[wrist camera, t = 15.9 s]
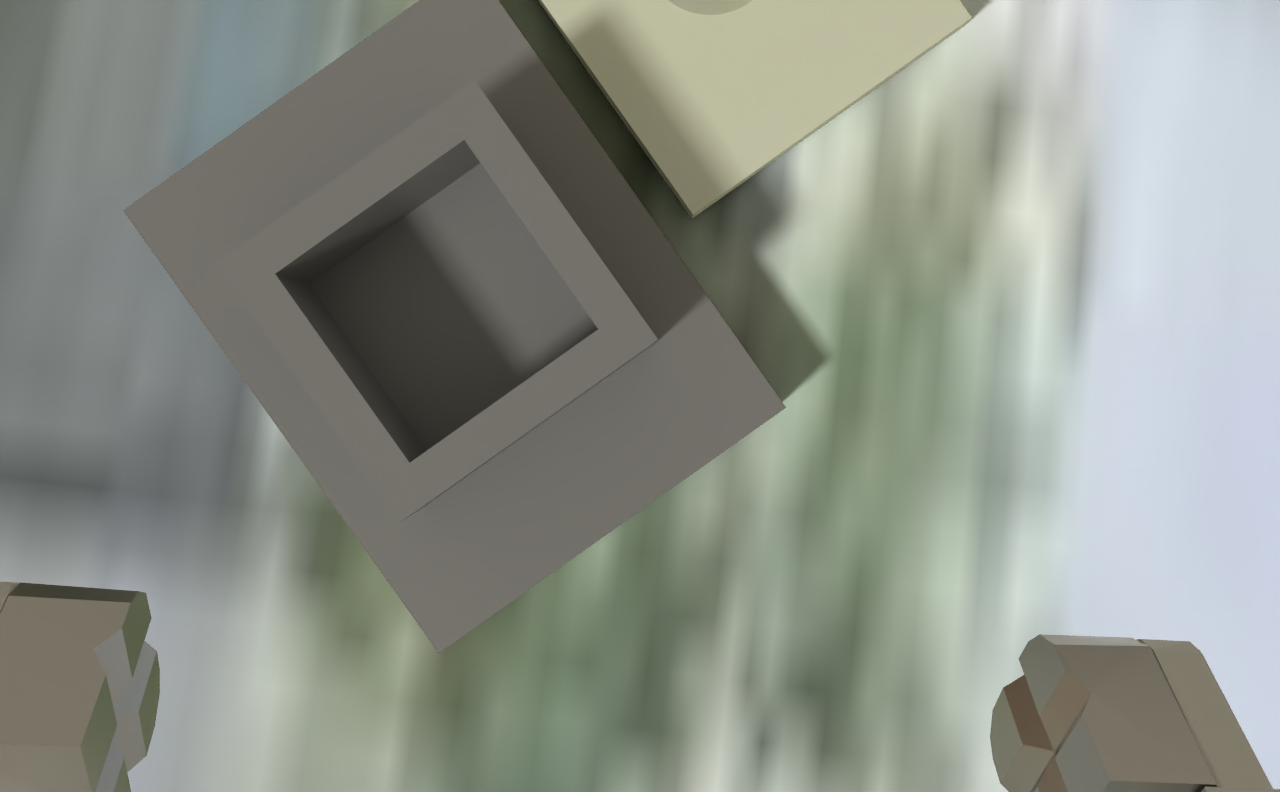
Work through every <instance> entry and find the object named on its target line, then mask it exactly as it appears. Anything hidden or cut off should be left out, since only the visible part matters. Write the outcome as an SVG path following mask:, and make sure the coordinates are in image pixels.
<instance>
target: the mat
mask: <svg viewBox="0 0 1280 792" xmlns="http://www.w3.org/2000/svg"><path fill="white" fill-rule="evenodd" d="M538 2H539V3H540V5H541V6H542V7H543V9H544V10H545V12H546V13H547V14H548V16H549V17H550V19H551V20H552V22H553V23H554V24H555V26H556V27H557V29H558V30H559V31H560V33H561V34H562V36H563V37H564V39H565V40H566V41H567V43H568V44H569V46H570V47H571V48H572V50H573V51H574V53H575V54H576V56H577V57H578V58H579V60H580V61H581V63H582V64H583V65H584V67H585V68H586V70H587V71H588V73H589V74H590V75H591V77H592V78H593V80H594V81H595V82H596V84H597V85H598V87H599V88H600V90H601V91H602V92H603V94H604V95H605V97H606V98H607V99H608V101H609V102H610V104H611V105H612V107H613V108H614V109H615V111H616V112H617V114H618V115H619V116H620V118H621V119H622V121H623V122H624V124H625V125H626V126H627V128H628V129H629V131H630V132H631V133H632V135H633V136H634V138H635V139H636V141H637V142H638V143H639V145H640V146H641V148H642V149H643V150H644V152H645V153H646V155H647V156H648V158H649V159H650V160H651V162H652V163H653V165H654V166H655V167H656V169H657V170H658V172H659V173H660V175H661V176H662V177H663V179H664V180H665V182H666V183H667V184H668V186H669V187H670V189H671V190H672V192H673V193H674V194H675V196H676V197H677V199H678V200H679V201H680V203H681V204H682V206H683V207H684V209H685V210H686V211H687V213H688V214H689V216H690V217H691V218H692V219H693V218H694V217H695V216H697V215H698V214H700V213H701V212H702V211H704V210H705V209H707V208H708V207H709V206H711V205H712V204H714V203H715V202H717V201H718V200H719V199H721V198H722V197H724V196H725V195H726V194H728V193H729V192H731V191H732V190H733V189H735V188H736V187H738V186H739V185H741V184H742V183H743V182H745V181H746V180H748V179H749V178H750V177H752V176H753V175H755V174H756V173H757V172H759V171H760V170H762V169H763V168H765V167H766V166H767V165H769V164H770V163H772V162H773V161H774V160H776V159H777V158H779V157H780V156H781V155H783V154H784V153H786V152H787V151H789V150H790V149H791V148H793V147H794V146H796V145H797V144H798V143H800V142H801V141H803V140H804V139H805V138H807V137H808V136H810V135H811V134H813V133H814V132H815V131H817V130H818V129H820V128H821V127H822V126H824V125H825V124H827V123H828V122H829V121H831V120H832V119H834V118H835V117H837V116H838V115H839V114H841V113H842V112H844V111H845V110H846V109H848V108H849V107H851V106H852V105H854V104H855V103H856V102H858V101H859V100H861V99H862V98H863V97H865V96H866V95H868V94H869V93H870V92H872V91H873V90H875V89H876V88H878V87H879V86H880V85H882V84H883V83H885V82H886V81H887V80H889V79H890V78H892V77H893V76H894V75H896V74H897V73H899V72H900V71H902V70H903V69H904V68H906V67H907V66H909V65H910V64H911V63H913V62H914V61H916V60H917V59H918V58H920V57H921V56H923V55H924V54H926V53H927V52H928V51H930V50H931V49H933V48H934V47H935V46H937V45H938V44H940V43H941V42H942V41H944V40H945V39H947V38H948V37H950V36H951V35H952V34H954V33H955V32H957V31H958V30H959V29H961V28H962V27H964V26H965V24H966V23H967V22H968V21H969V20H970V19H971V18H972V17H971V16H970V14H969V13H968V11H967V10H966V9H965V7H964V6H963V4H962V3H961V1H960V0H752V1H751V2H749V3H748V4H746V5H745V6H743V7H741V8H739V9H737V10H734V11H731V12H728V13H724V14H718V15H703V14H696V13H692V12H689V11H686V10H683V9H681V8H679V7H677V6H676V5H674V4H672V3H671V2H670V1H668V0H538Z"/></svg>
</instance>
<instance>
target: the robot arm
mask: <svg viewBox="0 0 1280 792" xmlns="http://www.w3.org/2000/svg"><path fill="white" fill-rule="evenodd" d="M150 621H151V614H150V609H149V605H148V600H147V596H146V593H144V592H139V591H125V590H112V589H99V588H85V587H72V586H58V585H45V584H31V583H13V582H0V792H131V789H130V784H129V779H128V774H127V772H128V771H129V770H131V769H132V768H133V767H134V766H135V765H136V764H138V763H139V762H140V761H141V760H142V759H143V758H144V757H146V756H147V752H148V748H149V745H150V741H151V737H152V734H153V730H154V727H155V720H156V714H157V707H158V700H159V694H160V669H159V662H158V655H157V651H156V650H155V649H154V648H153V647H151V646H150V645H149V644H148V643H147V642H145V641H144V640H145V637H146V633H147V630H148V627H149V624H150ZM1019 661H1020V663H1021V666H1022V669H1023V672H1024V675H1023V676H1022V677H1020V678H1018V679H1017V680H1015V681H1014V682H1012V683H1010V684H1009V685H1007V686H1005V687H1004V688H1003V689H1002V691H1001V694H1000V696H999V698H998V700H997V702H996V704H995V706H994V709H993V713H992V723H991V733H990V740H991V747H992V755H993V761H994V764H995V767H996V771H997V774H998V777H999V780H1000V783H1001V784H1002V785H1003V786H1004V787H1005V788H1006V789H1007V790H1008V791H1009V792H1280V789H1273V788H1272V786H1271V784H1270V782H1269V780H1268V778H1267V776H1266V774H1265V772H1264V771H1263V769H1262V767H1261V765H1260V763H1259V761H1258V759H1257V757H1256V755H1255V753H1254V752H1253V750H1252V748H1251V746H1250V744H1249V742H1248V740H1247V738H1246V736H1245V734H1244V732H1243V731H1242V729H1241V727H1240V725H1239V723H1238V721H1237V719H1236V717H1235V715H1234V713H1233V712H1232V710H1231V708H1230V706H1229V704H1228V702H1227V700H1226V698H1225V696H1224V694H1223V692H1222V691H1221V689H1220V687H1219V685H1218V683H1217V681H1216V679H1215V677H1214V675H1213V673H1212V672H1211V670H1210V668H1209V666H1208V664H1207V662H1206V660H1205V658H1204V656H1203V654H1202V653H1201V651H1200V650H1199V649H1197V648H1196V647H1195V646H1194V645H1193V644H1192V643H1191V642H1187V641H1167V640H1147V639H1137V640H1135V639H1133V638H1123V637H1095V636H1067V635H1038V636H1036V637H1035V638H1033V639H1032V640H1030V641H1029V642H1028V643H1027V645H1026V647H1025V649H1024V650H1023V652H1022V654H1021V656H1020V657H1019Z"/></svg>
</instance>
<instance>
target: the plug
mask: <svg viewBox="0 0 1280 792" xmlns="http://www.w3.org/2000/svg"><path fill="white" fill-rule="evenodd" d="M668 1H670V2H671V3H672V4H674V5H676V6H677V7H679V8H681V9H683V10H686V11H689V12H692V13H696V14H703V15H718V14H724V13H728V12H731V11H734V10H737V9H739V8H741V7H743V6H745V5H746V4H748V3H749V2H751V1H752V0H668Z"/></svg>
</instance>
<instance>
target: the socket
mask: <svg viewBox="0 0 1280 792" xmlns="http://www.w3.org/2000/svg"><path fill="white" fill-rule="evenodd" d="M123 211H124V212H125V214H126V215H127V217H128V218H129V219H130V221H131V222H132V224H133V225H134V226H135V228H136V229H137V231H138V232H139V233H140V235H141V236H142V238H143V239H144V240H145V242H146V243H147V245H148V246H149V247H150V249H151V250H152V252H153V253H154V254H155V256H156V257H157V259H158V260H159V261H160V263H161V264H162V266H163V267H164V268H165V270H166V271H167V273H168V274H169V275H170V277H171V278H172V280H173V281H174V283H175V284H176V285H177V287H178V288H179V290H180V291H181V292H182V294H183V295H184V297H185V298H186V299H187V301H188V302H189V304H190V305H191V306H192V308H193V309H194V311H195V312H196V313H197V315H198V316H199V318H200V319H201V320H202V322H203V323H204V325H205V326H206V327H207V329H208V330H209V332H210V333H211V334H212V336H213V337H214V339H215V340H216V341H217V343H218V344H219V346H220V347H221V348H222V350H223V351H224V353H225V354H226V355H227V357H228V358H229V360H230V361H231V362H232V364H233V365H234V367H235V368H236V369H237V371H238V372H239V374H240V375H241V376H242V378H243V379H244V381H245V382H246V383H247V385H248V386H249V388H250V389H251V390H252V392H253V393H254V395H255V396H256V397H257V399H258V400H259V402H260V403H261V404H262V406H263V407H264V409H265V410H266V411H267V413H268V414H269V416H270V417H271V419H272V420H273V421H274V423H275V424H276V426H277V427H278V428H279V430H280V431H281V433H282V434H283V435H284V437H285V438H286V440H287V441H288V442H289V444H290V445H291V447H292V448H293V449H294V451H295V452H296V454H297V455H298V456H299V458H300V459H301V461H302V462H303V463H304V465H305V466H306V468H307V469H308V470H309V472H310V473H311V475H312V476H313V477H314V479H315V480H316V482H317V483H318V484H319V486H320V487H321V489H322V490H323V491H324V493H325V494H326V496H327V497H328V498H329V500H330V501H331V503H332V504H333V505H334V507H335V508H336V510H337V511H338V512H339V514H340V515H341V517H342V518H343V519H344V521H345V522H346V524H347V525H348V526H349V528H350V529H351V531H352V532H353V533H354V535H355V536H356V538H357V539H358V540H359V542H360V543H361V545H362V546H363V547H364V549H365V550H366V552H367V553H368V555H369V556H370V557H371V559H372V560H373V562H374V563H375V564H376V566H377V567H378V569H379V570H380V571H381V573H382V574H383V576H384V577H385V578H386V580H387V581H388V583H389V584H390V585H391V587H392V588H393V590H394V591H395V592H396V594H397V595H398V597H399V598H400V599H401V601H402V602H403V604H404V605H405V606H406V608H407V609H408V611H409V612H410V613H411V615H412V616H413V618H414V619H415V620H416V622H417V623H418V625H419V626H420V627H421V629H422V630H423V632H424V633H425V634H426V636H427V637H428V639H429V640H430V641H431V643H432V644H433V646H434V647H435V648H436V650H437V651H438V653H440V652H441V651H443V650H444V649H446V648H447V647H448V646H450V645H451V644H453V643H454V642H455V641H457V640H458V639H460V638H461V637H463V636H464V635H465V634H467V633H468V632H470V631H471V630H472V629H474V628H475V627H477V626H478V625H479V624H481V623H482V622H484V621H485V620H487V619H488V618H489V617H491V616H492V615H494V614H495V613H496V612H498V611H499V610H501V609H502V608H503V607H505V606H506V605H508V604H509V603H511V602H512V601H513V600H515V599H516V598H518V597H519V596H520V595H522V594H523V593H525V592H526V591H527V590H529V589H530V588H532V587H533V586H535V585H536V584H537V583H539V582H540V581H542V580H543V579H544V578H546V577H547V576H549V575H550V574H551V573H553V572H554V571H556V570H557V569H559V568H560V567H561V566H563V565H564V564H566V563H567V562H568V561H570V560H571V559H573V558H574V557H575V556H577V555H578V554H580V553H581V552H583V551H584V550H585V549H587V548H588V547H590V546H591V545H592V544H594V543H595V542H597V541H598V540H600V539H601V538H602V537H604V536H605V535H607V534H608V533H609V532H611V531H612V530H614V529H615V528H616V527H618V526H619V525H621V524H622V523H624V522H625V521H626V520H628V519H629V518H631V517H632V516H633V515H635V514H636V513H638V512H639V511H640V510H642V509H643V508H645V507H646V506H648V505H649V504H650V503H652V502H653V501H655V500H656V499H657V498H659V497H660V496H662V495H663V494H664V493H666V492H667V491H669V490H670V489H672V488H673V487H674V486H676V485H677V484H679V483H680V482H681V481H683V480H684V479H686V478H687V477H688V476H690V475H691V474H693V473H694V472H696V471H697V470H698V469H700V468H701V467H703V466H704V465H705V464H707V463H708V462H710V461H711V460H712V459H714V458H715V457H717V456H718V455H720V454H721V453H722V452H724V451H725V450H727V449H728V448H729V447H731V446H732V445H734V444H735V443H736V442H738V441H739V440H741V439H742V438H744V437H745V436H746V435H748V434H749V433H751V432H752V431H753V430H755V429H756V428H758V427H759V426H760V425H762V424H763V423H765V422H766V421H768V420H769V419H770V418H772V417H773V416H775V415H776V414H777V413H779V412H780V411H782V410H783V409H785V408H786V407H785V405H784V404H783V403H782V401H781V400H780V398H779V397H778V395H777V394H776V393H775V391H774V390H773V388H772V387H771V386H770V384H769V383H768V381H767V380H766V378H765V377H764V376H763V374H762V373H761V371H760V370H759V369H758V367H757V366H756V364H755V363H754V361H753V360H752V359H751V357H750V356H749V354H748V353H747V352H746V350H745V349H744V347H743V346H742V344H741V343H740V342H739V340H738V339H737V337H736V336H735V335H734V333H733V332H732V330H731V329H730V327H729V326H728V325H727V323H726V322H725V320H724V319H723V318H722V316H721V315H720V313H719V312H718V311H717V309H716V308H715V306H714V305H713V303H712V302H711V301H710V299H709V298H708V296H707V295H706V294H705V292H704V291H703V289H702V288H701V286H700V285H699V284H698V282H697V281H696V279H695V278H694V277H693V275H692V274H691V272H690V271H689V269H688V268H687V267H686V265H685V264H684V262H683V261H682V260H681V258H680V257H679V255H678V254H677V252H676V251H675V250H674V248H673V247H672V245H671V244H670V243H669V241H668V240H667V238H666V237H665V235H664V234H663V233H662V231H661V230H660V228H659V227H658V226H657V224H656V223H655V221H654V220H653V218H652V217H651V216H650V214H649V213H648V211H647V210H646V209H645V207H644V206H643V204H642V203H641V201H640V200H639V199H638V197H637V196H636V194H635V193H634V192H633V190H632V189H631V187H630V186H629V185H628V183H627V182H626V180H625V179H624V177H623V176H622V175H621V173H620V172H619V170H618V169H617V168H616V166H615V165H614V163H613V162H612V160H611V159H610V158H609V156H608V155H607V153H606V152H605V151H604V149H603V148H602V146H601V145H600V143H599V142H598V141H597V139H596V138H595V136H594V135H593V134H592V132H591V131H590V129H589V128H588V126H587V125H586V124H585V122H584V121H583V119H582V118H581V117H580V115H579V114H578V112H577V111H576V109H575V108H574V107H573V105H572V104H571V102H570V101H569V100H568V98H567V97H566V95H565V94H564V92H563V91H562V90H561V88H560V87H559V85H558V84H557V83H556V81H555V80H554V78H553V77H552V76H551V74H550V73H549V71H548V70H547V68H546V67H545V66H544V64H543V63H542V61H541V60H540V59H539V57H538V56H537V54H536V53H535V51H534V50H533V49H532V47H531V46H530V44H529V43H528V42H527V40H526V39H525V37H524V36H523V34H522V33H521V32H520V30H519V29H518V27H517V26H516V25H515V23H514V22H513V20H512V19H511V17H510V16H509V15H508V13H507V12H506V10H505V9H504V8H503V6H502V5H501V3H500V2H499V0H420V1H418V2H417V3H415V4H414V5H412V6H411V7H410V8H408V9H407V10H405V11H404V12H403V13H401V14H400V15H398V16H397V17H396V18H394V19H393V20H391V21H390V22H388V23H387V24H386V25H384V26H383V27H381V28H380V29H379V30H377V31H376V32H374V33H373V34H372V35H370V36H369V37H367V38H366V39H364V40H363V41H362V42H360V43H359V44H357V45H356V46H355V47H353V48H352V49H350V50H349V51H348V52H346V53H345V54H343V55H342V56H340V57H339V58H338V59H336V60H335V61H333V62H332V63H331V64H329V65H328V66H326V67H325V68H324V69H322V70H321V71H319V72H318V73H316V74H315V75H314V76H312V77H311V78H309V79H308V80H307V81H305V82H304V83H302V84H301V85H300V86H298V87H297V88H295V89H294V90H292V91H291V92H290V93H288V94H287V95H285V96H284V97H283V98H281V99H280V100H278V101H277V102H276V103H274V104H273V105H271V106H270V107H268V108H267V109H266V110H264V111H263V112H261V113H260V114H259V115H257V116H256V117H254V118H253V119H252V120H250V121H249V122H247V123H246V124H245V125H243V126H242V127H240V128H239V129H237V130H236V131H235V132H233V133H232V134H230V135H229V136H228V137H226V138H225V139H223V140H222V141H221V142H219V143H218V144H216V145H215V146H213V147H212V148H211V149H209V150H208V151H206V152H205V153H204V154H202V155H201V156H199V157H198V158H197V159H195V160H194V161H192V162H191V163H189V164H188V165H187V166H185V167H184V168H182V169H181V170H180V171H178V172H177V173H175V174H174V175H173V176H171V177H170V178H168V179H167V180H165V181H164V182H163V183H161V184H160V185H158V186H157V187H156V188H154V189H153V190H151V191H150V192H149V193H147V194H146V195H144V196H143V197H141V198H140V199H139V200H137V201H136V202H134V203H133V204H132V205H130V206H129V207H127V208H126V209H125V210H123Z"/></svg>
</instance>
